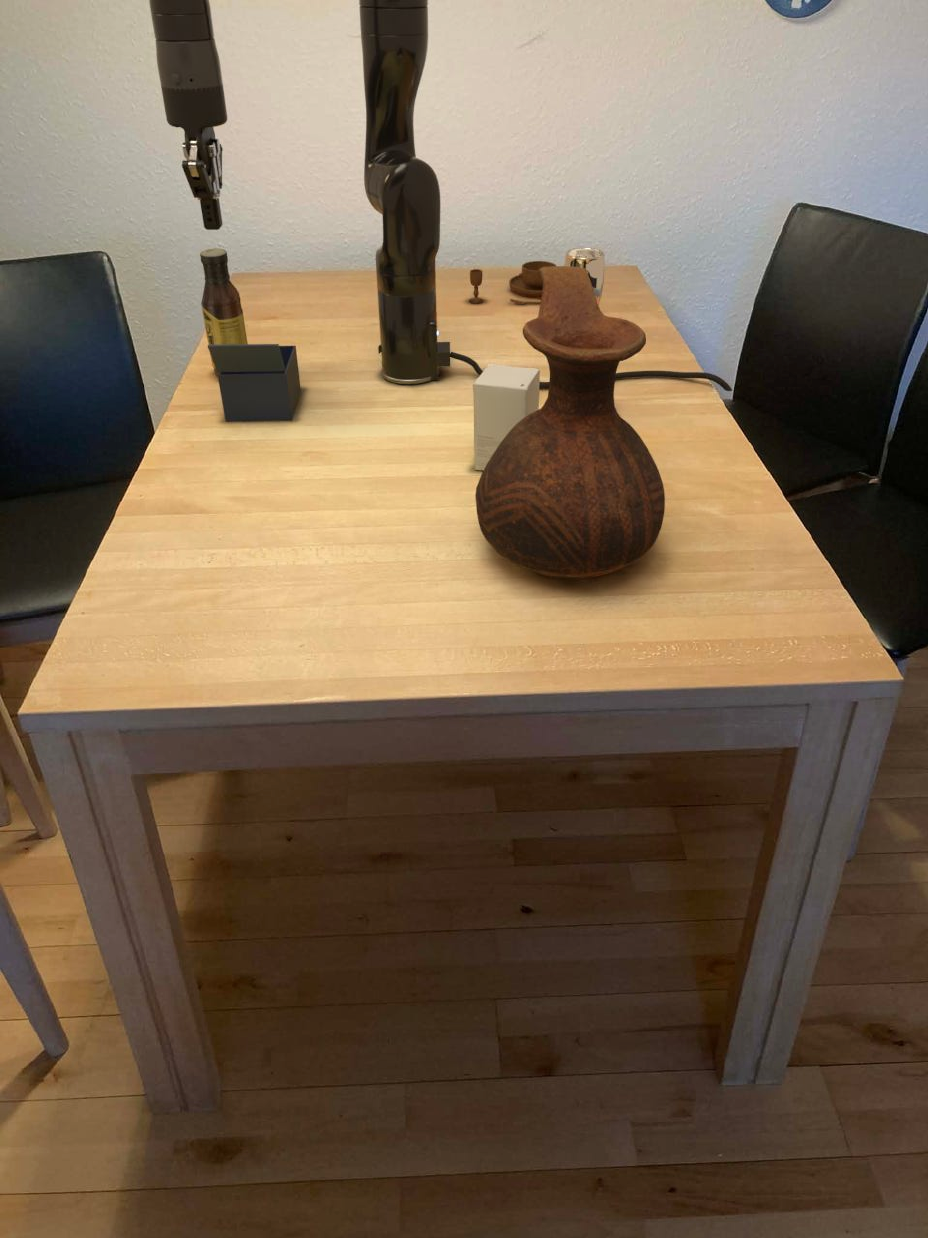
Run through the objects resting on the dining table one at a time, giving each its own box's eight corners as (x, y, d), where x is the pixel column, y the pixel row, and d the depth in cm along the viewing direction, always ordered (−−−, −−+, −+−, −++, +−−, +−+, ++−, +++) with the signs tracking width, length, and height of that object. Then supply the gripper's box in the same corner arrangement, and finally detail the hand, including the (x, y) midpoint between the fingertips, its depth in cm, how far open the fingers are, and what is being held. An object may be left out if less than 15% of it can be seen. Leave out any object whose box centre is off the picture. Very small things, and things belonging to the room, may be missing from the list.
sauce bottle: (216, 367, 158) (195, 245, 146) (253, 365, 158) (236, 244, 146) (211, 382, 153) (189, 257, 141) (249, 381, 153) (231, 255, 141)
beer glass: (597, 347, 164) (604, 259, 155) (557, 344, 165) (562, 257, 156) (600, 333, 170) (607, 248, 161) (562, 331, 171) (567, 246, 162)
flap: (278, 343, 131) (278, 345, 131) (285, 369, 136) (285, 371, 136) (207, 344, 131) (207, 346, 131) (217, 370, 136) (217, 372, 136)
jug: (687, 535, 114) (727, 286, 96) (611, 626, 99) (641, 352, 81) (531, 489, 123) (541, 255, 105) (441, 566, 109) (434, 309, 91)
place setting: (571, 304, 183) (572, 273, 179) (468, 304, 183) (468, 274, 179) (564, 277, 197) (566, 248, 193) (469, 277, 197) (469, 248, 193)
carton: (300, 389, 150) (295, 345, 146) (291, 420, 141) (286, 374, 137) (238, 390, 150) (231, 346, 146) (225, 421, 141) (217, 375, 136)
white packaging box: (538, 454, 131) (542, 368, 124) (524, 478, 126) (527, 389, 118) (488, 447, 133) (489, 361, 126) (472, 470, 128) (471, 382, 120)
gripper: (210, 88, 111) (232, 241, 121) (232, 74, 121) (250, 216, 132) (147, 88, 111) (174, 241, 121) (174, 74, 121) (197, 216, 131)
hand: (213, 227), depth 126 cm, fingers closed
